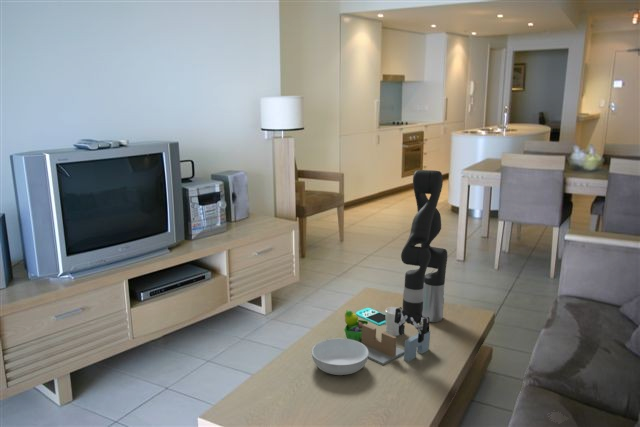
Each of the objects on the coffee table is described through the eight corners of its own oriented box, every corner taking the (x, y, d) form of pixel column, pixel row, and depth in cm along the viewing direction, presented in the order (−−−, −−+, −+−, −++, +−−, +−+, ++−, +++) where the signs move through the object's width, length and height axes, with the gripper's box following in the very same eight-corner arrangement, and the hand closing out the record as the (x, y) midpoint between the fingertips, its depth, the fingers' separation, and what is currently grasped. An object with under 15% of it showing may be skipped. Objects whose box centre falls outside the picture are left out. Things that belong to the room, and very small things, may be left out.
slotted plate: (424, 347, 209) (426, 329, 207) (428, 349, 207) (430, 331, 206) (403, 359, 199) (404, 340, 197) (408, 361, 198) (409, 342, 196)
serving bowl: (338, 348, 207) (338, 332, 206) (379, 368, 193) (380, 351, 191) (299, 366, 193) (299, 349, 192) (340, 389, 179) (341, 371, 177)
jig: (373, 338, 216) (374, 319, 214) (405, 352, 205) (406, 331, 203) (350, 350, 206) (351, 329, 204) (382, 365, 195) (383, 343, 193)
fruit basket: (361, 344, 211) (362, 318, 209) (340, 340, 214) (341, 315, 211) (368, 332, 222) (369, 307, 219) (347, 329, 224) (348, 304, 222)
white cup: (402, 328, 225) (403, 307, 223) (403, 337, 218) (404, 314, 215) (384, 327, 226) (385, 306, 224) (384, 336, 218) (385, 313, 216)
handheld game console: (368, 309, 246) (368, 306, 246) (394, 320, 235) (394, 317, 234) (353, 315, 240) (353, 312, 240) (379, 326, 228) (379, 323, 228)
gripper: (435, 301, 192) (432, 341, 196) (403, 290, 202) (401, 329, 206) (423, 306, 187) (420, 348, 191) (391, 295, 197) (389, 335, 200)
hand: (410, 338), depth 198 cm, fingers open, 8 cm apart
